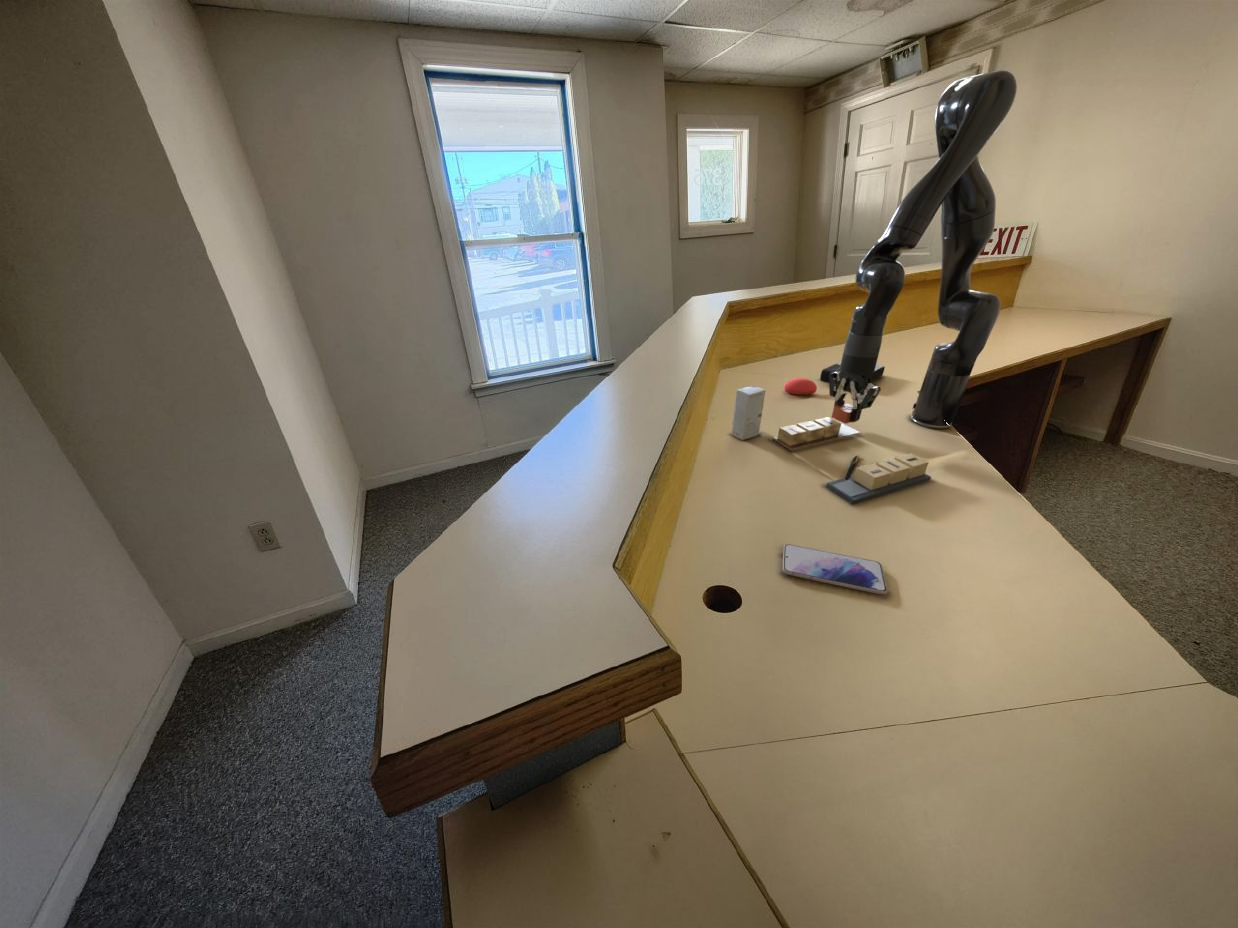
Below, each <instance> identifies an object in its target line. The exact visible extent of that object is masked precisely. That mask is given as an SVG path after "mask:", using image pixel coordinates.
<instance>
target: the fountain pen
mask: <svg viewBox="0 0 1238 928" xmlns="http://www.w3.org/2000/svg"><path fill="white" fill-rule="evenodd" d="M859 459H860V455H859V454H857V455H855V456H854V457H853V458H852V460H851V462H850V465H849V467H848V469H847V471H846V474H845V477H844V478H845V479H847V480H848V479H849V477H850V476H852V474H853V473H854V470H855V469H856V466H857V464H858V462H859Z"/></svg>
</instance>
